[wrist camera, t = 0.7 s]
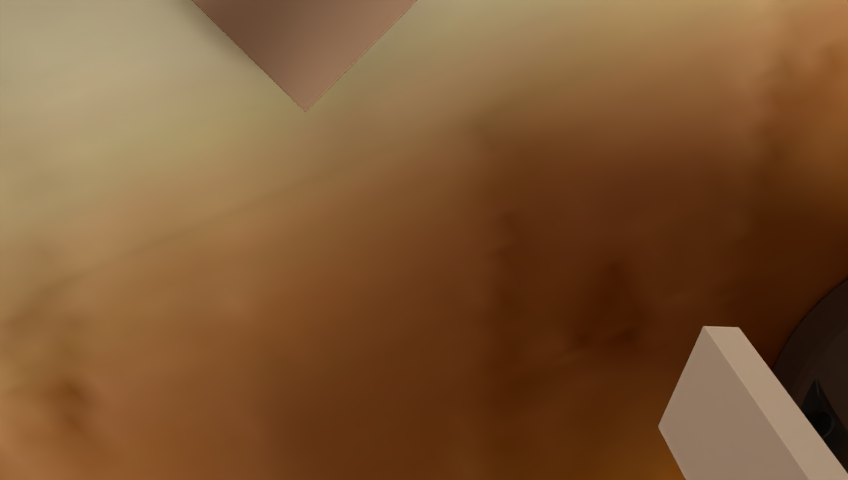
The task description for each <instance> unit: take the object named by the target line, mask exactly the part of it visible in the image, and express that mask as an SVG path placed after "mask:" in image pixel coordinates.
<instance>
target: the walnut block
mask: <svg viewBox="0 0 848 480" xmlns="http://www.w3.org/2000/svg"><path fill="white" fill-rule="evenodd" d="M192 1H193V2H194V3H195V4H196V5H197V6H198V7H199V8H200V9H201V10H202V11H203V12H204V13H205V14H206V15H207V16H208V17H209V18H210V19H211V20H212V21H213V22H214V23H215V24H216V25H217V26H218V27H219V28H220V29H221V30H222V31H223V32H224V33H226V34H227V35H228V36H229V37H230V38H231V39H232V40H233V41H234V42H235V43H236V44H237V45H238V46H239V47H240V48H241V49H242V50H243V51H244V52H245V53H246V54H247V55H248V56H249V57H250V58H251V59H252V60H253V61H254V62H255V63H256V64H257V65H258V66H259V67H260V68H261V69H262V70H263V71H264V72H265V73H266V74H267V75H268V76H269V77H270V78H271V79H272V80H273V81H274V82H275V83H276V84H277V85H278V86H279V87H280V88H281V89H282V90H283V91H284V92H285V93H286V94H287V95H288V96H289V97H290V98H291V99H292V100H293V101H294V102H295V103H296V104H297V105H298V106H299V107H300V108H301V109H303V110H304V111H305V112H306V111H307V110H308V109H309V108H310V107H311V106H312V105H313V104H314V103H315V102H316V101H317V100H318V99H319V98H320V97H321V96H322V95H323V94H324V93H325V92H326V91H327V90H328V89H329V88H330V87H331V86H332V85H333V84H334V83H335V82H336V81H337V80H338V79H339V78H340V77H341V76H342V75H343V74H344V73H345V72H346V71H347V70H348V69H349V68H350V67H351V66H352V65H353V64H354V63H355V62H356V61H357V60H358V59H359V58H360V57H361V56H362V55H363V54H364V53H365V52H366V51H367V50H368V49H369V48H370V47H371V46H372V45H373V44H374V43H375V42H376V41H377V40H378V39H379V38H380V37H381V36H382V35H383V34H384V33H385V32H386V31H387V30H388V29H389V28H390V27H391V26H392V25H393V24H394V23H395V22H396V21H397V20H398V19H399V18H400V17H401V16H402V15H403V14H404V13H405V12H406V11H407V10H408V9H409V8H410V7H411V6H412V5H413V4H414V3H415V2H416V1H417V0H192Z"/></svg>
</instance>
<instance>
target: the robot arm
mask: <svg viewBox="0 0 848 480" xmlns="http://www.w3.org/2000/svg"><path fill="white" fill-rule="evenodd" d="M658 428H659V430H660V431H661V433H662V435H663V437H664V439H665V441H666V443H667V445H668V447H669V449H670V451H671V453H672V455H673V456H674V458H675V460H676V462H677V464H678V466H679V468H680V470H681V472H682V474H683V476H684V478H685V479H686V480H848V279H847V280H846V281H845V282H843V283H842V284H840V285H839V286H838V287H837V288H835V289H834V290H833V291H832V292H830V293H829V294H828V295H827V296H826V297H825V298H824V299H822V300H821V301H820V302H819V303H818V304H817V305H816V306H815V307H814V308H813V309H812V310H811V311H810V312H809V314H808V315H807V316H806V317H805V318H804V319H803V320H802V322H801V323H800V324H799V326H798V327H797V328H796V329H795V331H794V332H793V334H792V335H791V337H790V338H789V340H788V341H787V343H786V345H785V346H784V348H783V350H782V352H781V354H780V356H779V358H778V360H777V362H776V364H775V367H774V370H773V372H772V371H771V370H770V369H769V367H768V366H767V364H766V363H765V362H764V360H763V359H762V358H761V356H760V355H759V354H758V352H757V351H756V350H755V348H754V347H753V346H752V344H751V343H750V342H749V340H748V339H747V338H746V336H745V335H744V334H743V332H742V331H741V330H740V328H739V327H718V326H703V328H702V330H701V332H700V335H699V337H698V339H697V341H696V343H695V346H694V348H693V350H692V352H691V354H690V357H689V359H688V361H687V363H686V366H685V368H684V370H683V372H682V374H681V377H680V379H679V381H678V383H677V385H676V388H675V390H674V392H673V394H672V397H671V399H670V401H669V403H668V405H667V408H666V410H665V412H664V414H663V416H662V419H661V421H660V423H659V425H658Z"/></svg>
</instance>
